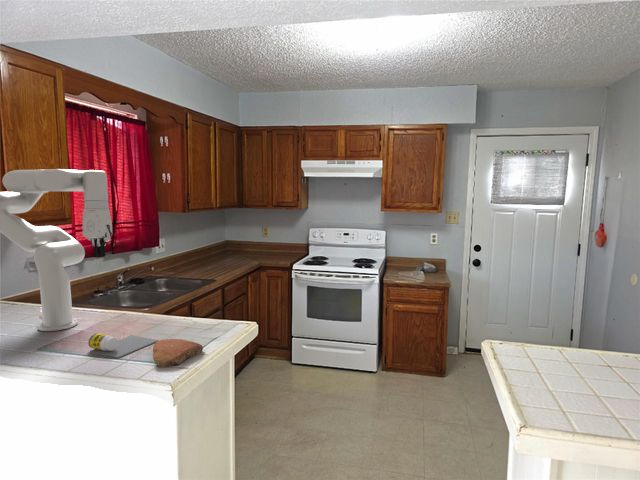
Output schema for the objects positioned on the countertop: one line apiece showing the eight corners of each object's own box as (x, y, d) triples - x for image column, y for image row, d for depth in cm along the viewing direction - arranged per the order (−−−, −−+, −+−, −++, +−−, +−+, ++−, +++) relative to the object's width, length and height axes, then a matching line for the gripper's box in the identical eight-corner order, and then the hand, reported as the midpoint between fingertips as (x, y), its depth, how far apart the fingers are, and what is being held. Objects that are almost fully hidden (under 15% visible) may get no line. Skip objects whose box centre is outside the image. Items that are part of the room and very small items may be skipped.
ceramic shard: (131, 347, 121) (164, 337, 136) (132, 369, 121) (165, 357, 135) (174, 345, 117) (203, 335, 132) (176, 368, 117) (205, 356, 131)
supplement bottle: (91, 331, 133) (110, 334, 129) (102, 335, 136) (121, 338, 133) (84, 346, 131) (103, 349, 127) (96, 349, 134) (115, 353, 131)
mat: (89, 352, 131) (89, 350, 131) (131, 336, 145) (131, 335, 145) (118, 358, 126) (118, 357, 126) (158, 341, 140) (158, 340, 140)
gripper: (72, 205, 147) (76, 257, 149) (101, 206, 141) (105, 259, 143) (91, 205, 154) (95, 254, 156) (120, 205, 147) (123, 256, 150)
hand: (100, 256), depth 149 cm, fingers closed
